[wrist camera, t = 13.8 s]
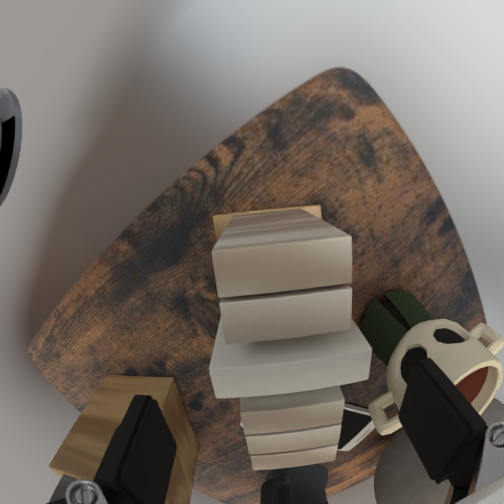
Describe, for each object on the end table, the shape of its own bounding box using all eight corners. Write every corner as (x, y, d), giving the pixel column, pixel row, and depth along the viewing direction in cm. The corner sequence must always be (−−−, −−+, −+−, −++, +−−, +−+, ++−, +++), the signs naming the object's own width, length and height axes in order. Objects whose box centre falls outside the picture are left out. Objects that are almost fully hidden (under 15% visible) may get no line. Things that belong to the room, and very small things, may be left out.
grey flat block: (228, 281, 22) (208, 368, 11) (319, 271, 21) (372, 348, 11) (231, 302, 22) (216, 398, 11) (319, 292, 22) (368, 379, 11)
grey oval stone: (370, 458, 29) (403, 557, 11) (348, 444, 28) (383, 562, 10) (473, 380, 26) (541, 461, 8) (465, 355, 25) (549, 447, 7)
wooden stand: (107, 373, 25) (13, 531, 4) (173, 376, 25) (105, 582, 4) (142, 441, 28) (96, 575, 7) (199, 446, 28) (174, 599, 7)
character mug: (422, 257, 22) (524, 314, 10) (439, 313, 24) (518, 382, 11) (323, 322, 24) (373, 434, 11) (352, 372, 25) (398, 473, 12)
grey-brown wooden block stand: (214, 214, 21) (169, 252, 10) (317, 204, 21) (388, 229, 10) (237, 366, 25) (229, 473, 13) (322, 357, 24) (358, 457, 13)
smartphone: (272, 378, 25) (272, 384, 24) (383, 412, 27) (385, 417, 26) (238, 420, 26) (238, 426, 26) (346, 447, 28) (348, 452, 27)
